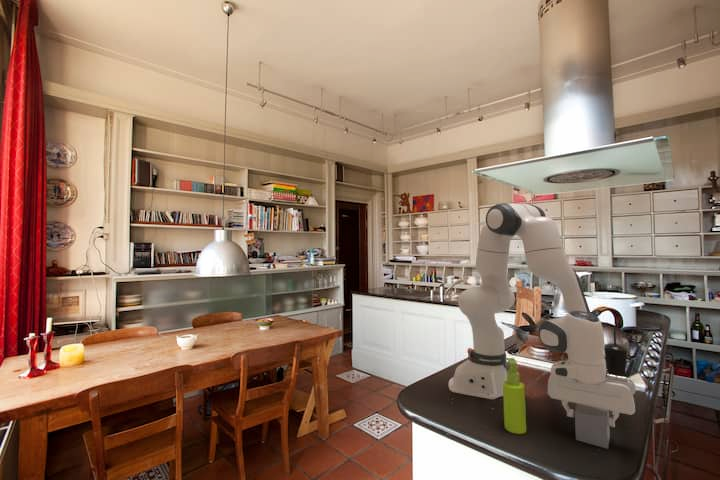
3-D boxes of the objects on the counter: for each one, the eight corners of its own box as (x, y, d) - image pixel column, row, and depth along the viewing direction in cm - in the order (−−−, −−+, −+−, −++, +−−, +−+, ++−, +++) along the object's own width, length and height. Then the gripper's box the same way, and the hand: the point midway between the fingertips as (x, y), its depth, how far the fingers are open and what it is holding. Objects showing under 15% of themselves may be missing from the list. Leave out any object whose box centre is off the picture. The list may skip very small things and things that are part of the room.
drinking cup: (634, 387, 127) (631, 333, 127) (611, 386, 128) (608, 332, 129) (622, 379, 134) (620, 328, 135) (601, 378, 136) (598, 327, 136)
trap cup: (608, 448, 90) (606, 419, 90) (575, 439, 94) (574, 411, 95) (609, 436, 95) (608, 408, 96) (579, 428, 100) (578, 401, 100)
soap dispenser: (522, 422, 104) (519, 356, 105) (528, 434, 98) (525, 364, 98) (502, 421, 106) (499, 356, 106) (506, 432, 99) (503, 363, 99)
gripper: (634, 374, 92) (638, 427, 91) (549, 361, 105) (551, 407, 104) (634, 382, 87) (638, 437, 86) (544, 367, 100) (547, 415, 99)
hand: (590, 421), depth 95 cm, fingers open, 8 cm apart
